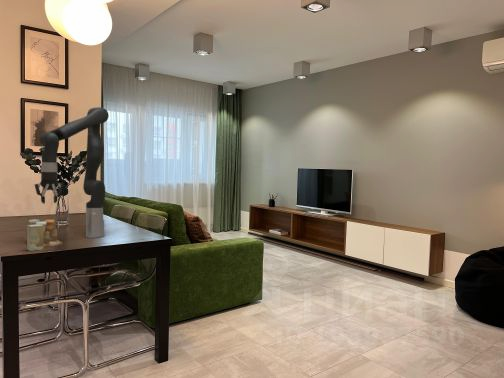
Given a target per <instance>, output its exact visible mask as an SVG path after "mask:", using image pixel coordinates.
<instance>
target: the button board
mask: <svg viewBox="0 0 504 378" xmlns="http://www.w3.org/2000/svg"><path fill="white" fill-rule="evenodd" d="M25 241H26V243H27V239H26V240H25ZM53 246H63V242H62V241H60V240H59V239H58V229H56V228H54V227H53V230H49V231H46V228H45V232H44V236H43V248H44V247H53Z"/></svg>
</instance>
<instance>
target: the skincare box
mask: <svg viewBox="0 0 504 378" xmlns="http://www.w3.org/2000/svg"><path fill="white" fill-rule="evenodd" d="M43 236H44V225H41V224H38V225H31V224H27V227H26V240H27V242H26V250H27V251H29V252H32V251H43V250H44V247H43Z"/></svg>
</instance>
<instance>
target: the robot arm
mask: <svg viewBox="0 0 504 378" xmlns="http://www.w3.org/2000/svg"><path fill="white" fill-rule="evenodd" d="M86 114H87V115H85V116H83V117H81V118H78V119H76V120H73V121H70V122H67V123H66V124H63V125H61V126H59V127H57V128H55V129H52V130H49V131H46V132H44V133H42V134H41V135H40V137H39V143H40V144H41V145H42V146H43V147H44V150H43V152H42V153H41V166H40V182H39V183H34V185H33V186H34V189H35V193H36V195H38V196H40V202H41V203H42V204H45V203H46V193H47V191H52V193H53V204H56V203H57V202H58V196H60V195H62V192H63V190H64V186H65V184H64V183H60V182H59V181H58V171H59V170H58V159H57V158H58V157H57V156H58V155H57V154H58V151H59V145H60V142H61V141H63V140H68V139H69V138H71V137H73V136H76V135H77V134H79V133H81V132H82V131H85V130H87V141H86V142H87V143H86V156H85V157H86V159H85V161H86V162H85V172H84V180H83V185H82V186H83V193H84V194H86V195H88V196H90V200H88V201H87V202H86V203H85V208H86V209H85V238H87V239H88V238H89V239H90V238H91V239H92V238H93V239H97V238H101V237H105V220H104V204H105V199H106V186H105V185H106V184H105V183H104V181H102V180H98V179H97V176H98V175H97V174H98V171H99V169H100V167H101V164H102V163H103V160H104V155H105V153H104V152H105V146H104V143H103V142H104V141H103V139H102V136H101V124H105V123H106V122H107V121H108V120H109V112H108V111H107V109H106V108H104V107H100V106H98V107H92V108H89V110H88V111H87V113H86ZM57 186H58V191H57V189H56V188H57ZM41 187H42V190H40V188H41Z"/></svg>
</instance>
